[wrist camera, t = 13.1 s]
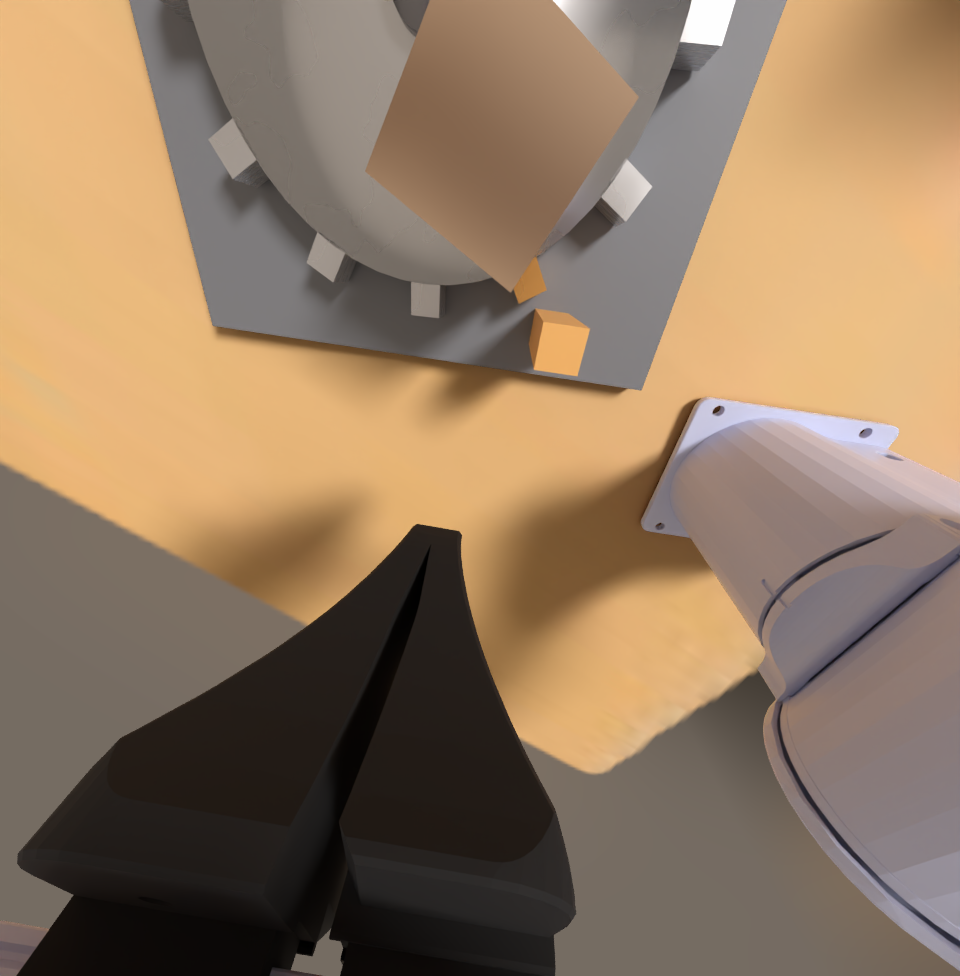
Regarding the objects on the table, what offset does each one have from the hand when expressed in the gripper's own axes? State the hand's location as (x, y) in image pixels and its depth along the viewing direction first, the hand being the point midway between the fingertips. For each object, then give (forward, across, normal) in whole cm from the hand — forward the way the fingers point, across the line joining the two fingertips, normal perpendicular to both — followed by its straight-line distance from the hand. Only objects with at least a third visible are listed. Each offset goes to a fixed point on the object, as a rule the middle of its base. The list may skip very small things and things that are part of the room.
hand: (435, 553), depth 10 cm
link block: (+7, 0, -10) cm, 12 cm away
